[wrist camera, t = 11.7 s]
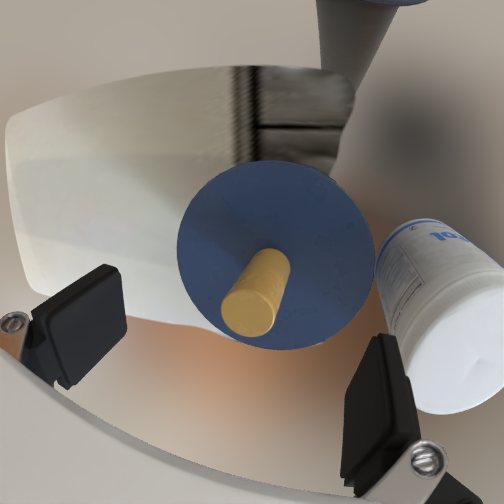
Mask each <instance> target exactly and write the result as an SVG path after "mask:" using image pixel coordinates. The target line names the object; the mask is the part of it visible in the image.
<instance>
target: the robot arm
mask: <svg viewBox="0 0 504 504" xmlns="http://www.w3.org/2000/svg"><path fill="white" fill-rule="evenodd" d="M31 314H32V317H33V320H31V321H30V319H29V317H28V315H27V314H26V313H24V312H19V311H18V312H12V313H8V314H6V315H5V316H3V317H2V318H1V319H0V504H483V502H482V500H481V499H480V498H479V497H478V496H476V495H475V494H474V493H473V492H471V491H470V490H469V489H468V488H466V487H465V486H464V485H462V484H461V483H460V482H459V481H457V480H456V479H455V478H454V477H453V476H451V475H450V474H449V473H447V472H446V470H447V467H448V456H447V453H446V451H445V450H444V448H443V447H442V446H441V445H440V444H439V443H437V442H435V441H433V440H429V439H421V433H420V427H419V421H418V416H417V410H416V405H415V400H414V395H413V390H412V386H411V381H410V379H409V377H408V376H406V375H405V370H404V366H403V362H402V358H401V354H400V350H399V346H398V342H397V338H396V336H394V335H388V334H383V333H379V334H378V336H377V337H375V336H373V337H372V338H371V340H370V343H369V345H368V347H367V350H366V352H365V354H364V356H363V358H362V360H361V362H360V364H359V366H358V368H357V371H356V373H355V374H354V377H353V379H352V380H351V382H350V384H349V386H348V388H347V391H346V394H345V404H344V428H343V446H342V459H341V470H340V477H341V478H345V480H344V486H347V487H354V494H355V496H354V497H347V496H339V495H331V494H324V493H316V492H309V491H303V490H297V489H290V488H286V487H280V486H276V485H271V484H266V483H262V482H258V481H254V480H250V479H246V478H242V477H238V476H235V475H231V474H228V473H224V472H221V471H218V470H215V469H211V468H209V467H206V466H203V465H200V464H197V463H194V462H191V461H189V460H186V459H184V458H181V457H178V456H176V455H173V454H171V453H168V452H166V451H163V450H161V449H159V448H157V447H155V446H152V445H150V444H148V443H146V442H144V441H142V440H140V439H138V438H135V437H133V436H131V435H130V434H128V433H126V432H124V431H122V430H120V429H118V428H116V427H114V426H112V425H110V424H109V423H107V422H105V421H103V420H102V419H100V418H98V417H97V416H95V415H93V414H92V413H90V412H88V411H87V410H85V409H84V408H82V407H80V406H79V405H77V404H76V403H74V402H73V401H71V400H70V399H68V398H67V397H65V396H64V395H62V394H61V393H59V392H58V391H57V390H55V389H54V382H55V380H57V382H58V384H59V385H61V386H62V387H64V388H65V389H66V390H69V389H70V387H71V386H72V385H76V384H77V383H78V382H79V381H80V380H81V379H82V378H83V377H84V376H85V375H86V374H87V373H88V372H89V371H90V370H91V369H92V368H93V367H94V366H95V365H96V364H97V363H98V362H99V361H100V360H101V359H102V358H103V357H104V356H105V355H106V354H107V353H108V352H109V351H110V350H111V349H112V348H113V347H114V346H115V345H116V344H117V343H118V342H119V341H120V339H122V338H123V337H124V335H125V334H126V332H127V323H126V316H125V308H124V300H123V290H122V280H121V274H120V273H119V271H118V269H117V268H116V267H113V266H110V265H107V264H102V265H101V266H99V267H97V268H96V269H94V270H93V271H91V272H89V273H88V274H86V275H85V276H83V277H81V278H80V279H78V280H77V281H75V282H74V283H72V284H70V285H69V286H67V287H66V288H64V289H63V290H61V291H60V292H58V293H57V294H55V295H54V296H52V297H51V298H49V299H48V300H46V301H45V302H43V303H42V304H40V305H39V306H37V307H36V308H35V309H33V310H32V311H31Z"/></svg>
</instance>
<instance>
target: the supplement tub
mask: <svg viewBox="0 0 504 504" xmlns="http://www.w3.org/2000/svg"><path fill="white" fill-rule="evenodd" d="M374 274H375V281H376V286H377V289H378V292H379V296H380V299H381V303H382V306H383V310H384V313H385V318H386V321H387V326H388V329H389V334H390V335H394V336H396V338H397V342H398V346H399V350H400V354H401V358H402V362H403V366H404V370H405V375H406V376H408V377H409V379H410V381H411V386H412V390H413V395H414V400H415V405H416V408H418V409H420V410H422V411H424V412H427V413H432V414H451V413H457V412H461V411H464V410H467V409H470V408H472V407H474V406H477V405H479V404H480V403H482V402H484V401H485V400H487V399H489V398H490V397H492V396H493V395H494V394H496V393H497V392H498V391H499V390H501V388H503V387H504V268H502V267H501V266H500V265H499V264H498V263H496V262H495V261H494V260H493V259H492V258H490V257H489V256H488V255H487V254H485V253H484V252H483V251H482V250H480V249H479V248H478V247H476V246H475V245H473V244H472V243H471V242H470V241H468V240H467V239H466V238H464V237H463V236H461V235H460V234H459V233H457V232H456V231H454V230H453V229H451V228H450V227H449V226H447V225H446V224H444V223H442V222H440V221H437V220H434V219H415V220H411V221H408V222H405V223H403V224H402V225H400V226H398V227H397V228H396V229H394V230H393V231H392V232H391V233H390V234H389V235H388V236H387V237H386V239H385V240H384V242H383V243H382V245H381V247H380V248H379V251H378V253H377V256H376V260H375V269H374Z"/></svg>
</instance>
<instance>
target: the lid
mask: <svg viewBox="0 0 504 504" xmlns="http://www.w3.org/2000/svg"><path fill="white" fill-rule="evenodd" d="M177 260H178V267H179V271H180V275H181V278H182V281H183V284H184V286H185V289H186V291H187V293H188V295H189V296H190V298H191V300H192V302H193V303H194V304H195V306H196V307H197V309H198V310H199V311H200V312H201V313H202V314H203V316H204V317H205V318H206V319H207V320H208V321H209V322H211V323H212V324H213V325H214V326H215V327H216V328H218V329H219V330H221V331H222V332H223V333H225V334H227V335H228V336H230V337H232V338H234V339H236V340H238V341H241V342H243V343H245V344H248V345H252V346H255V347H259V348H264V349H273V350H292V349H299V348H304V347H308V346H312V345H315V344H317V343H320V342H322V341H324V340H326V339H328V338H330V337H332V336H334V335H335V334H336V333H338V332H339V331H341V330H342V329H343V328H344V327H345V326H346V325H347V324H349V323H350V322H351V321H352V320H353V318H354V317H355V316H356V315H357V313H358V312H359V311H360V309H361V307H362V306H363V304H364V302H365V301H366V299H367V296H368V294H369V291H370V289H371V285H372V281H373V277H374V269H375V250H374V245H373V239H372V236H371V232H370V229H369V227H368V224H367V222H366V220H365V218H364V216H363V214H362V212H361V210H360V209H359V207H358V206H357V205H356V203H355V202H354V200H353V199H352V198H351V197H350V196H349V195H348V194H347V193H346V192H345V190H344V189H343V188H342V187H340V186H339V185H338V184H337V183H335V182H334V181H333V180H331V179H330V178H329V177H327V176H325V175H323V174H322V173H320V172H318V171H316V170H314V169H311V168H309V167H306V166H304V165H300V164H296V163H292V162H287V161H277V160H268V161H256V162H250V163H245V164H242V165H239V166H236V167H233V168H231V169H229V170H227V171H225V172H223V173H221V174H219V175H218V176H216V177H215V178H213V179H212V180H211V181H209V182H208V183H207V184H206V185H205V186H204V187H203V188H202V189H201V190H200V191H199V192H198V193H197V194H196V196H195V197H194V198H193V199H192V201H191V203H190V204H189V206H188V208H187V209H186V211H185V214H184V216H183V219H182V221H181V225H180V229H179V233H178V240H177Z"/></svg>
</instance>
